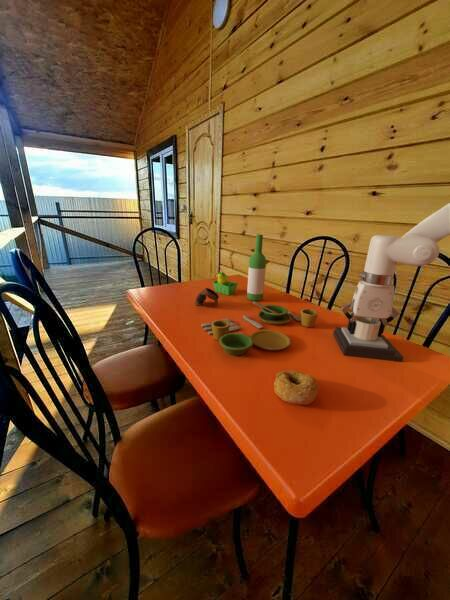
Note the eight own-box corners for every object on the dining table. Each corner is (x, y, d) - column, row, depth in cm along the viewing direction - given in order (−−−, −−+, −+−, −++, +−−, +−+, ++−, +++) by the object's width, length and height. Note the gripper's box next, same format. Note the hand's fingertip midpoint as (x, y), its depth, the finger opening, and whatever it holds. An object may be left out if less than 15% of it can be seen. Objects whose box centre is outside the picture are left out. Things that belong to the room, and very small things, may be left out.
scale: (382, 339, 86) (384, 331, 85) (402, 361, 73) (405, 352, 72) (332, 334, 88) (334, 326, 87) (343, 355, 75) (345, 346, 74)
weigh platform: (373, 334, 84) (374, 330, 84) (387, 350, 75) (388, 345, 74) (340, 331, 86) (341, 327, 85) (349, 346, 76) (350, 341, 76)
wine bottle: (252, 302, 117) (257, 235, 107) (243, 297, 123) (247, 233, 113) (266, 300, 120) (272, 235, 110) (256, 295, 127) (261, 233, 117)
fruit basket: (238, 293, 130) (239, 271, 126) (227, 297, 123) (228, 274, 119) (220, 288, 136) (221, 267, 132) (210, 292, 130) (210, 270, 126)
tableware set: (285, 309, 109) (287, 295, 107) (338, 337, 86) (341, 320, 84) (195, 325, 92) (195, 308, 90) (230, 365, 69) (231, 345, 66)
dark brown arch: (199, 300, 118) (208, 286, 116) (214, 312, 116) (224, 298, 114) (186, 301, 107) (196, 285, 105) (202, 315, 105) (213, 299, 103)
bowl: (371, 332, 82) (375, 316, 81) (380, 342, 76) (384, 325, 74) (348, 329, 84) (351, 314, 82) (354, 340, 77) (358, 323, 75)
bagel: (307, 377, 65) (309, 361, 63) (324, 409, 54) (328, 391, 53) (268, 377, 64) (270, 361, 63) (278, 409, 54) (281, 391, 52)
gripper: (349, 279, 71) (337, 336, 77) (416, 284, 69) (399, 342, 75) (342, 273, 78) (332, 326, 84) (403, 277, 76) (388, 331, 82)
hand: (364, 333), depth 79 cm, fingers closed on bowl, 7 cm apart
